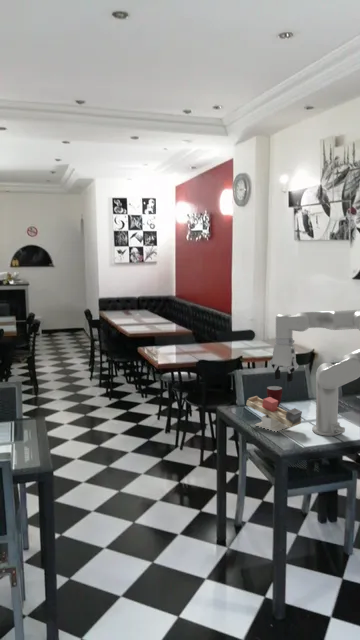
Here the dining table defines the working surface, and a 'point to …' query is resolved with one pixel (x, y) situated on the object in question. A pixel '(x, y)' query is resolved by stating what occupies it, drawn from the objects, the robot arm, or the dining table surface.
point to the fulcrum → (271, 424)
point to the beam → (276, 412)
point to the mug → (275, 393)
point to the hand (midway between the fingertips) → (283, 379)
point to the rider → (270, 404)
